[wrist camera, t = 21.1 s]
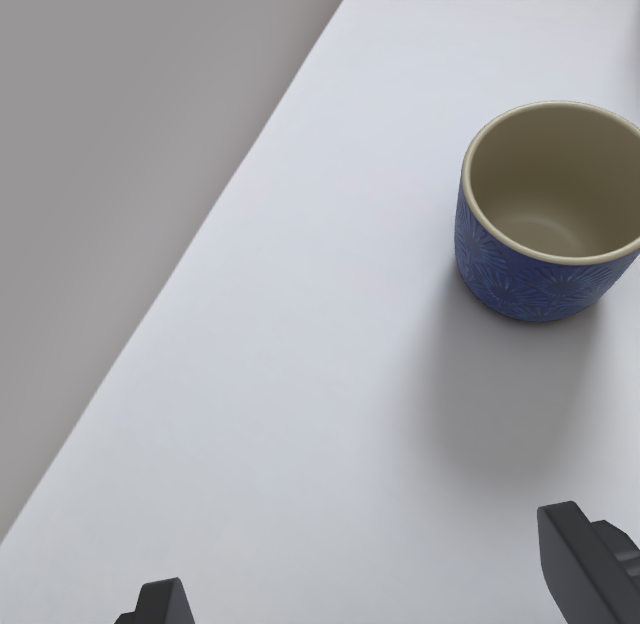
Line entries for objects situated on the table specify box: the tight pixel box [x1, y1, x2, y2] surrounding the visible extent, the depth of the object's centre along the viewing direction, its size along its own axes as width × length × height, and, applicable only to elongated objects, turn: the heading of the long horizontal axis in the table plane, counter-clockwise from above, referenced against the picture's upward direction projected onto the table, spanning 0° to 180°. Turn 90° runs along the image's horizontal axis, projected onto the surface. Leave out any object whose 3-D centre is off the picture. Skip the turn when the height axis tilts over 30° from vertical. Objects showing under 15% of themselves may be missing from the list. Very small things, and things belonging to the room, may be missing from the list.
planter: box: [454, 101, 640, 321], centre depth 42 cm, size 12×12×11 cm
